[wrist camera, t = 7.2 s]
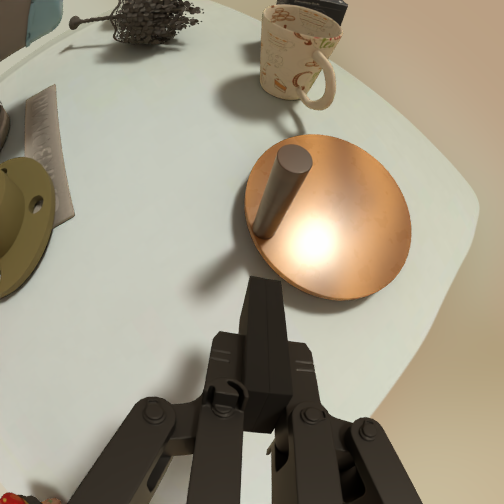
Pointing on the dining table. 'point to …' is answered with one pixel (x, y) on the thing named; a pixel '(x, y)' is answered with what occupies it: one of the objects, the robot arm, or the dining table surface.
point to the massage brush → (146, 20)
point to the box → (321, 7)
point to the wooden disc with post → (327, 217)
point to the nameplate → (48, 149)
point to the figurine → (25, 500)
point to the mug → (297, 53)
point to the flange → (23, 219)
